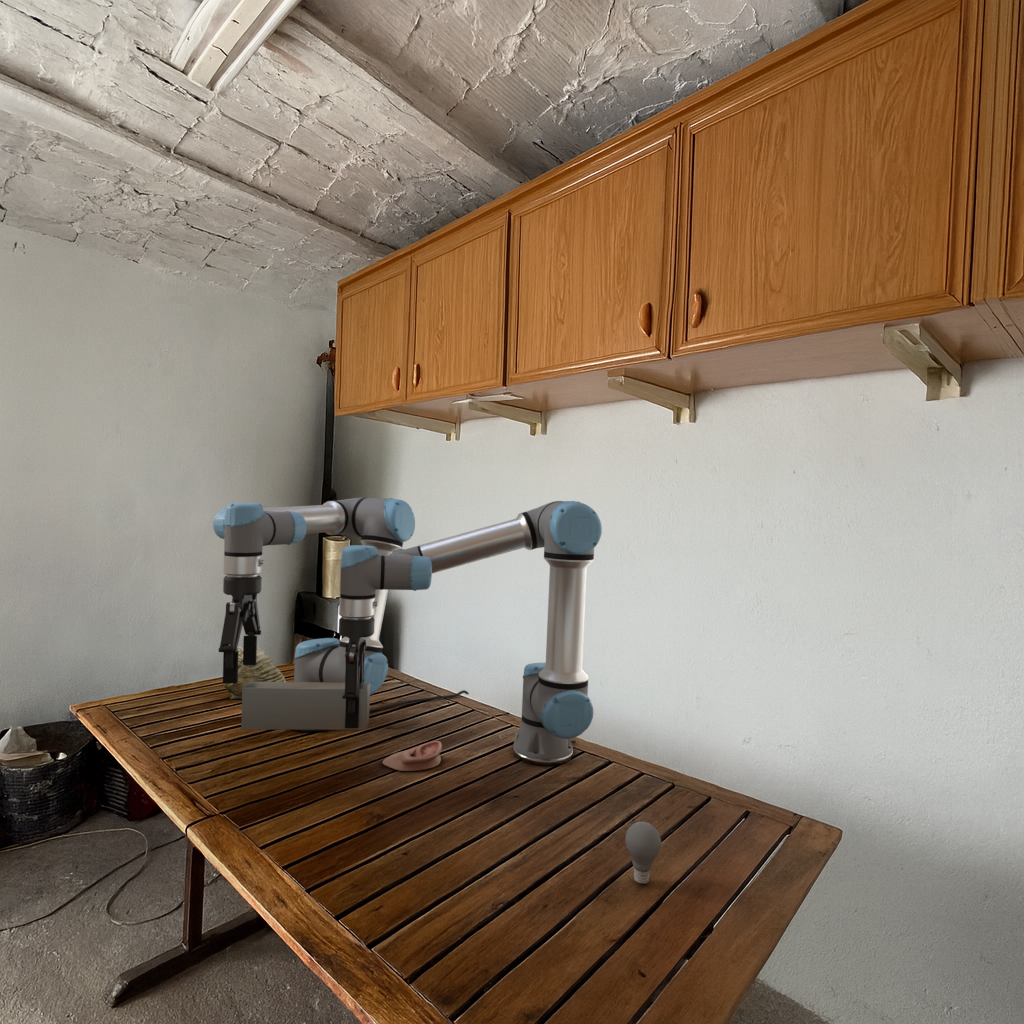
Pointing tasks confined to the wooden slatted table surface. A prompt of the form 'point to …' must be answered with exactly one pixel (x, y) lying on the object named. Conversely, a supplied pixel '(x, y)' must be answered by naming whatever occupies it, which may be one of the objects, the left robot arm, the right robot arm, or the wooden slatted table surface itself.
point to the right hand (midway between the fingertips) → (353, 723)
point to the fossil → (254, 672)
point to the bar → (300, 706)
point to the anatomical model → (416, 757)
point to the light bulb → (642, 848)
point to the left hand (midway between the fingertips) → (240, 673)
